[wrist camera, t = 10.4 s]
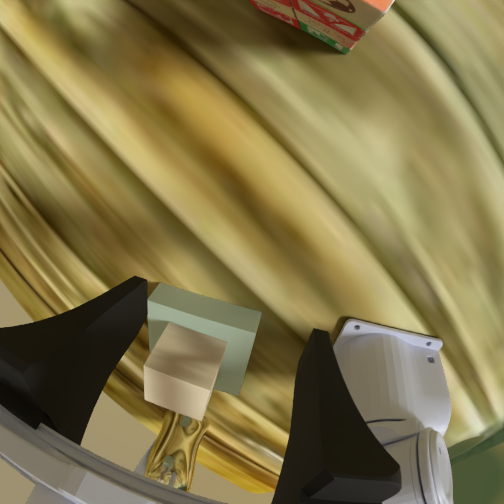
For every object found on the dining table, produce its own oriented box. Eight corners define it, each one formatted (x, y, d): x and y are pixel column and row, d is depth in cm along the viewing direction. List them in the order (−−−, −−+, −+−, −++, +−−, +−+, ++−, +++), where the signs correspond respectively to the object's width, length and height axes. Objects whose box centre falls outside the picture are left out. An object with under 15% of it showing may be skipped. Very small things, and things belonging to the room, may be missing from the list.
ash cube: (227, 341, 25) (210, 390, 21) (217, 377, 27) (201, 421, 23) (169, 321, 25) (143, 365, 21) (166, 358, 28) (144, 399, 23)
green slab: (263, 308, 26) (256, 333, 24) (245, 373, 31) (238, 395, 28) (162, 279, 27) (146, 300, 25) (162, 346, 32) (150, 367, 29)
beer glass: (157, 414, 39) (116, 502, 26) (171, 396, 36) (124, 499, 23) (201, 436, 40) (168, 525, 27) (221, 421, 36) (186, 524, 23)
